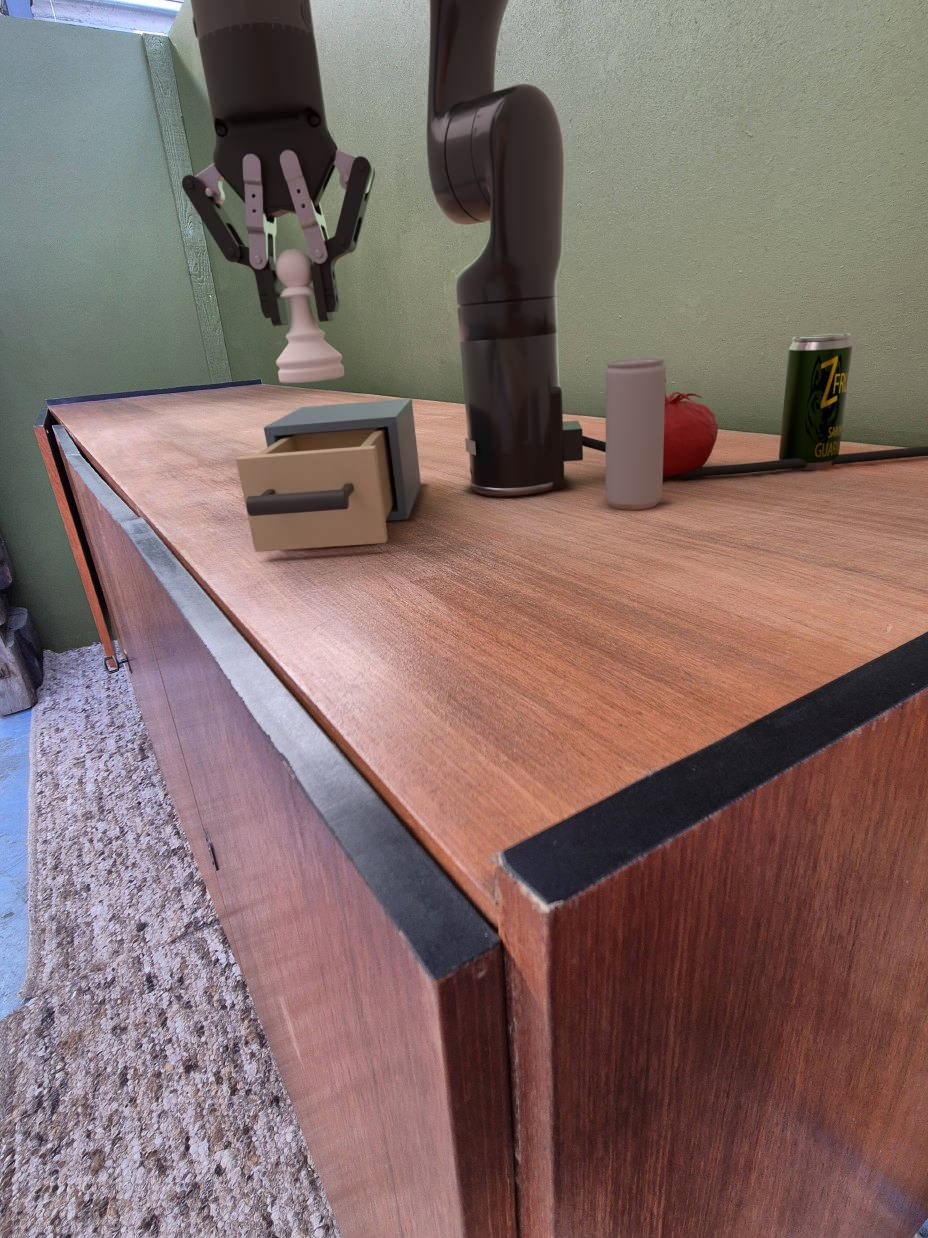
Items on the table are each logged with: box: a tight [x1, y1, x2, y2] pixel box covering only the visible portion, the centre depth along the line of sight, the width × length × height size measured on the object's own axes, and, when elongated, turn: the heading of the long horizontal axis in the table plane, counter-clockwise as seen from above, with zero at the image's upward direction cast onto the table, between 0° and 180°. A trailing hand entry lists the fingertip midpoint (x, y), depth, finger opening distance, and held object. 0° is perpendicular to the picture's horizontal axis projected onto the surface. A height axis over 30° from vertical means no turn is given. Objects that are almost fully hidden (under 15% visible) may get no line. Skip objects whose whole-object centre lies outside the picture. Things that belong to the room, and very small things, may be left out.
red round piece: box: [663, 378, 719, 478], centre depth 71 cm, size 10×10×9 cm
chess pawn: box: [275, 248, 345, 384], centre depth 53 cm, size 5×5×9 cm
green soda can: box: [778, 332, 853, 471], centre depth 69 cm, size 5×5×12 cm
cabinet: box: [263, 397, 422, 522], centre depth 69 cm, size 14×12×9 cm
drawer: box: [235, 427, 396, 553], centre depth 58 cm, size 17×10×7 cm, turn 178°
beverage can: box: [604, 357, 667, 511], centre depth 61 cm, size 5×5×12 cm
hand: (302, 321), depth 53 cm, fingers closed on chess pawn, 3 cm apart
